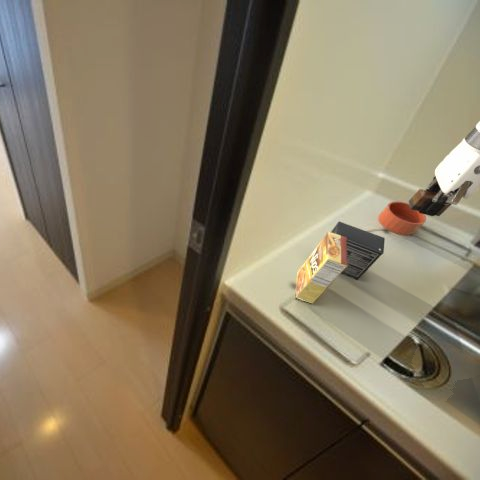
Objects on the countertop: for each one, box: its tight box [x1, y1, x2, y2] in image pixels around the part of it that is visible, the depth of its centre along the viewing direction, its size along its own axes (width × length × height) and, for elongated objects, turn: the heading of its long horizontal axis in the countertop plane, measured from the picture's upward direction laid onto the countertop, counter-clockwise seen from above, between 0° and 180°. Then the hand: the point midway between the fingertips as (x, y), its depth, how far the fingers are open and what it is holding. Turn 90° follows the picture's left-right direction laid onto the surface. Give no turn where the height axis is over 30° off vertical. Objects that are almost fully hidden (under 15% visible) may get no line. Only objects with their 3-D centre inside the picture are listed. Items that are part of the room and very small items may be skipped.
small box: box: [330, 220, 386, 280], centre depth 81 cm, size 11×6×10 cm, turn 58°
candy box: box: [295, 231, 348, 304], centre depth 74 cm, size 9×4×15 cm, turn 156°
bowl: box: [377, 200, 427, 236], centre depth 94 cm, size 10×10×4 cm
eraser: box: [407, 188, 453, 217], centre depth 77 cm, size 6×3×4 cm, turn 67°
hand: (424, 208), depth 79 cm, fingers closed on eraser, 3 cm apart
